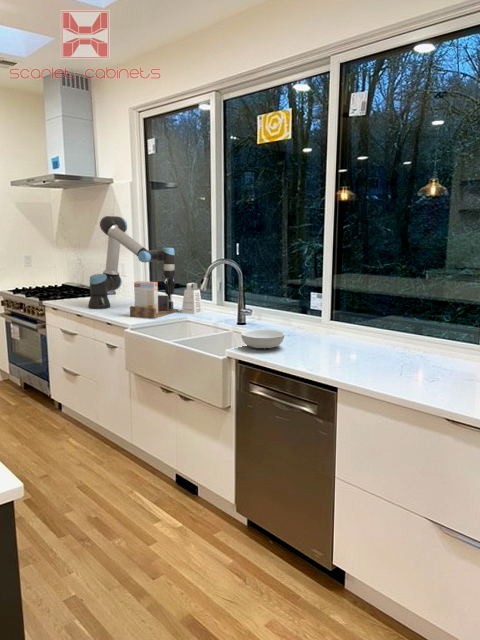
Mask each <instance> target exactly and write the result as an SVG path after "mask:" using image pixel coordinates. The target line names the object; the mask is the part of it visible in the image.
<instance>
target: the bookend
mask: <svg viewBox="0 0 480 640" xmlns="http://www.w3.org/2000/svg"><path fill="white" fill-rule="evenodd" d="M172 309H174V301H173V300H172V301H169V296H168V295H162V294H158V310H161V311H169V310H172Z"/></svg>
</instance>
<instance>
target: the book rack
mask: <svg viewBox="0 0 480 640" xmlns="http://www.w3.org/2000/svg"><path fill="white" fill-rule="evenodd" d="M177 312H179V309H178V308H173V309H172V310H169V311H161V310H158V314H156V308H148V307H135V305H134V306H129V317H130V318H139V317H140V318H143V319H151V318H154V319H153V320H156V319H158V317H159V318H161V317H165V316H168V315H171V314H174V313H177ZM140 318H139V319H140ZM155 318H156V319H155Z"/></svg>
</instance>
